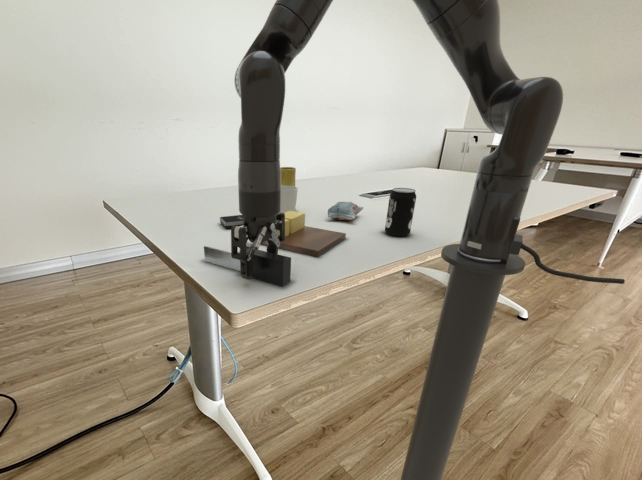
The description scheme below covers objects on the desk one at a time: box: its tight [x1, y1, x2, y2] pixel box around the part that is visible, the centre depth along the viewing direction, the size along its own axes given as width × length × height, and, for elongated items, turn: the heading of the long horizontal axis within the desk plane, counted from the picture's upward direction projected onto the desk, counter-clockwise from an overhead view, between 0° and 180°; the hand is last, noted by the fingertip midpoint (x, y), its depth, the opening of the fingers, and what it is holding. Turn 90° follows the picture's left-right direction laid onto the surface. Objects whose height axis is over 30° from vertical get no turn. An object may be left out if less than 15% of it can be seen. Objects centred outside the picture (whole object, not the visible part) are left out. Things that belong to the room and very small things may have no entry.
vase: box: [280, 166, 297, 212], centre depth 113 cm, size 6×6×14 cm
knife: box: [203, 245, 292, 288], centre depth 69 cm, size 21×3×5 cm, turn 56°
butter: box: [284, 211, 306, 234], centre depth 92 cm, size 5×7×4 cm
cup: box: [280, 185, 299, 213], centre depth 104 cm, size 8×8×10 cm
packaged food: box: [327, 201, 364, 221], centre depth 108 cm, size 9×12×5 cm
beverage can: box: [384, 187, 417, 238], centre depth 92 cm, size 7×7×12 cm
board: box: [260, 225, 347, 258], centre depth 88 cm, size 18×16×2 cm
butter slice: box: [277, 219, 289, 237], centre depth 88 cm, size 5×2×4 cm, turn 57°
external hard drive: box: [219, 214, 244, 229], centre depth 101 cm, size 7×11×2 cm, turn 113°
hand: (260, 270), depth 68 cm, fingers open, 8 cm apart
